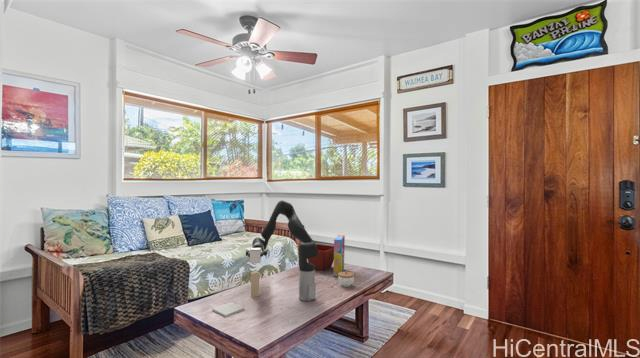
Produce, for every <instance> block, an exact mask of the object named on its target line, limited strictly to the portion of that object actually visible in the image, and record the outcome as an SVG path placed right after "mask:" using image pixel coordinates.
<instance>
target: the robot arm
mask: <svg viewBox="0 0 640 358" xmlns="http://www.w3.org/2000/svg"><path fill="white" fill-rule="evenodd" d="M279 215H282V216H285V217H286V218H287V220H288V222H287V229H288V230H289V233H290V234H291V235H292V236H293V238H295V239H297V240H298V241H300V242H301V243H300V244H299V245H298V251H297V252H298V254H297V255H298V267H299V269H298V272H299V275H298V300H300V301H303V302H311V301H313V300H315V299H316V297H317V296H316V293H317V292H316V290H317V289H316V286H317V284H316V282H315V274H316V273H315V271H316V269H315V266H314V264H312V263H308V260H307V259H308V258H314V257H316V256H317V255H318V248H317V245H316V242H315V241H314V239H313V238H312V237H311V236H310V234H309V233H308V231H307V230H306V228H305V227H304V225H303V223H302V221H301V220H300V218H299V217H298V215H297V212H296V210H295V208H294V206H293V204H291V202H288V201H286V200H283V199H282V200H279V201H277V203H276V205H275V206H274V209H273V211H272V213H271V215H270V218H269V220H268V222H267V224H266V226H265V227H264V228H263V230H262V231H261V233H260V236H261V237H262V238H263V239H262V238H261V237H257V236H256V237H255V238H253V241H252V244H251V245H252V247H251V248H261V253H260V257H261V258H262V257H264V256H265V257H266V256H267V255H268V253H269V252H268V251H269V250H268V249H267V247H268V244H269V241H270V239H271V237H272V235H273V234H274V232H275V230H276V228H277V220H278V217H279ZM245 257H248V258H250V249H245Z"/></svg>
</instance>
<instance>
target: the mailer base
mask: <svg viewBox="0 0 640 358" xmlns="http://www.w3.org/2000/svg"><path fill="white" fill-rule="evenodd" d="M259 295H260V271H259V270H257V271H256V270H253V271H251V273H250V297H251V298H252V297H259Z"/></svg>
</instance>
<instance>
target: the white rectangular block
mask: <svg viewBox="0 0 640 358" xmlns="http://www.w3.org/2000/svg"><path fill="white" fill-rule="evenodd" d="M249 251H250V257H249V264H261V262H262V257H260V253H261V248H252V247H251V248H250V249H249Z"/></svg>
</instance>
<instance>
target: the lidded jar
mask: <svg viewBox="0 0 640 358" xmlns="http://www.w3.org/2000/svg"><path fill="white" fill-rule="evenodd" d="M338 275H339V276H337V277H338V282H339V284H340V285H341V286H342V287H345V288H348V287H351V286H352V285H353V283H354V279H355V274H354V272H352V271H347V270H346V271H343V272H340V273H338Z"/></svg>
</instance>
